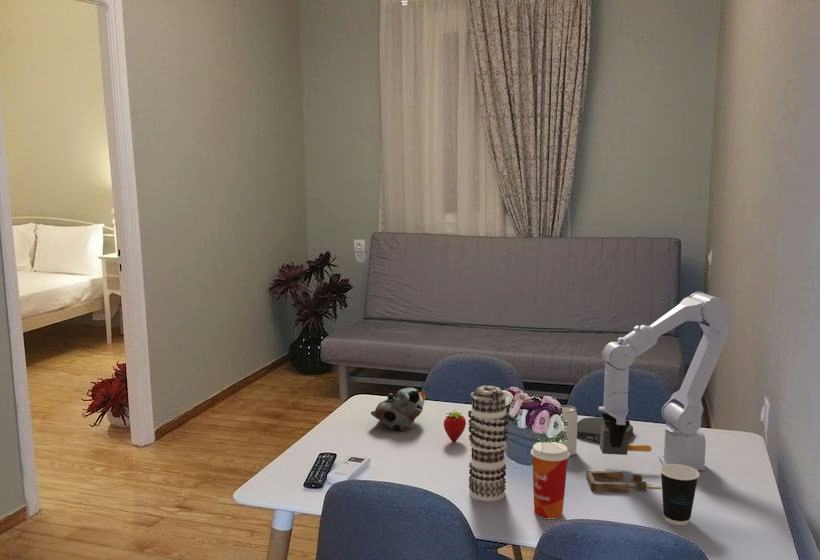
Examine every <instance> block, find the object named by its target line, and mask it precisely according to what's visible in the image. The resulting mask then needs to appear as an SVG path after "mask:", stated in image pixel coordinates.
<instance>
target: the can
mask: <svg viewBox="0 0 820 560" xmlns="http://www.w3.org/2000/svg"><path fill="white" fill-rule="evenodd" d="M560 406H561V408H562V415H563V419H567V421H568V426H567V427H564V430H565V432H566V434H567V436H568V439H569V440H568V441H565V442H559V443H561V444H563V445H565V446H566V447H567V449H568V452H569V454H570V456H569V457H571V456H574V455H576V453H577V446H578V445H577V442H578V438H577V422H578V413H577V408H576V407H574V406H571V405H564V404H563V405H560Z"/></svg>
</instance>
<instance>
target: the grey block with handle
mask: <svg viewBox="0 0 820 560" xmlns="http://www.w3.org/2000/svg"><path fill="white" fill-rule="evenodd" d="M628 435H629V431H628V430H627V429H626V431H625V434H624V437H623V441H622V444H621V447H612V445H611V440H610V432H609V428H608V425H601V436H600V443H599V450H600V451H601V454H602V455H620V456H621V455H623V456H628V452H644V453H645V452H647V453H648V452H649V453H650V452H651V451H652V446H651V445H648V444H629V439H628Z"/></svg>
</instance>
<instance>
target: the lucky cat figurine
mask: <svg viewBox="0 0 820 560" xmlns="http://www.w3.org/2000/svg"><path fill="white" fill-rule="evenodd" d="M425 401H426V391H425V390H422V391H421V392H420V391H419V390H418V389H417V388H414V387H405V388H402V389H401V388H400V389H399V390H398V391H397V392H396V393H395V395H394V394H393V393H391V392H390V393H388V394H387V399H385V400H383V401H380V402H379V403H378V405H377V406H376V408H375V410H374V411H371V412H370V415H371V416H372V417H374V418H375V419H377V420H378V421H380V422H381V423H383V424H384V425H385V426H386V427H388V428H390V429H392V430H397V432H404V431H406V430H409V429H413V427H414V425H415V420H416V418H418V417H419V416H420V415H421V413H423V410H424V409H423V408H424V405H425Z"/></svg>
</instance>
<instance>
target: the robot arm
mask: <svg viewBox="0 0 820 560" xmlns="http://www.w3.org/2000/svg"><path fill="white" fill-rule="evenodd" d="M731 314H732V311H731V309H730V308H729V306H728V304H727V302H726V301H725V300H724V299H723V298H721V297H717V296H713V295H710V294H707V293H705V292H703V291H695V292H692V294H690V295H689V296H686V297H685V298H682V300H681V301H680V302H679V304H677V305H676V306H675V307H673V308H672V309H670V310H669V311H668V312H666V313H665V314H664V315H662V316H661V317H659V318H657V320H656V321H653V323H651V324H650V325H646V324H641V325H640V326H639V325H638V324H637V325H635V326H634V327H633V328H632V329H633V330H632V331H630V332H629V333H627V334H626V335H624V336H622V337H621V336H620V337H618V338H617V341H611V342H608V343H606V345H605V346H604V348H603V350H602V351H601V352H600V353H601V358H602V360H603V361H604V362H605V363H604V384H603V385H604V386H603V387H604V388H603V405H602V406H598V411H600V413H601V415H602V418H604V421H605V425H608V428H609V432H610V440H611V445H612V447H621V444H622V441H623V437H624V434H625V431H626V429H627V428H628V426H629V425H631V422H630V420H628V419H627V418H626V417H627V415H628V412H629V408H628V402H629V401H628V399H629V398H628V397H629V375H630V374H629V371H630V370H629V368H630V367H631V366H632V365H633V363H634V360H635V359H636V358H637V357H638V356H640V355H642V354H644V353H645V352H646V351H647V350H650V349H651V348H652V347H654V346H655V345H657V342H658V338H660V337H661V336H662V335H664V334H666V333H668V332H669V331H671V330H673V329H674V328H676V327H678V326H680V325H681V324H684V323H685V322H698V324H699V326H700V328H701V330H702V333H703V334H702V337H701V339H700V341H699V344H698V346H697V348H696V350H695V353H694V356H693V358H692V360H691V363H690V365H689V366H688V369H687V372H686V374H685V375H684V376H685V377H684V378H683V380H682V383H681V386H680V388H679V390H677V391H675V392H673V393H672V394H671V396H670V397H669V400H668V401H667V402H665V403H664V405H663V406H662V409H661V416H662V419H663V421H665V427H664V428H665V429H664V430H665V431H664V446H663V448H664V449H663V455H658V459H659V460H660V462H661V463H662V464H663V465H667V464H680V465H686V466H689V467H692V468H694V469H696V470H697V471H706V468H705V465H706V464H705V463H706V462H705V460H706V450H707V449H706V447H707V445H706V436H705V434H704V432H703V431H702V430H700V428H701V426H702V414H703V413H704V407H703V402H702V397H703V396H704V393H705V391H706V388H707V386H708V383H709V381H710V379H711V378H712V374H713V372H714V370H715V369H716V366H717V363H718V360H719V359H720V356H721V354H722V352H723V349H724V348H725V346H726V345H725V344H726V342H727V340H728V339H729V336H730V324H729V323H730V322H729V321H730V320H729V318H730V315H731ZM626 419H627V420H626ZM663 465H662V466H663Z"/></svg>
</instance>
